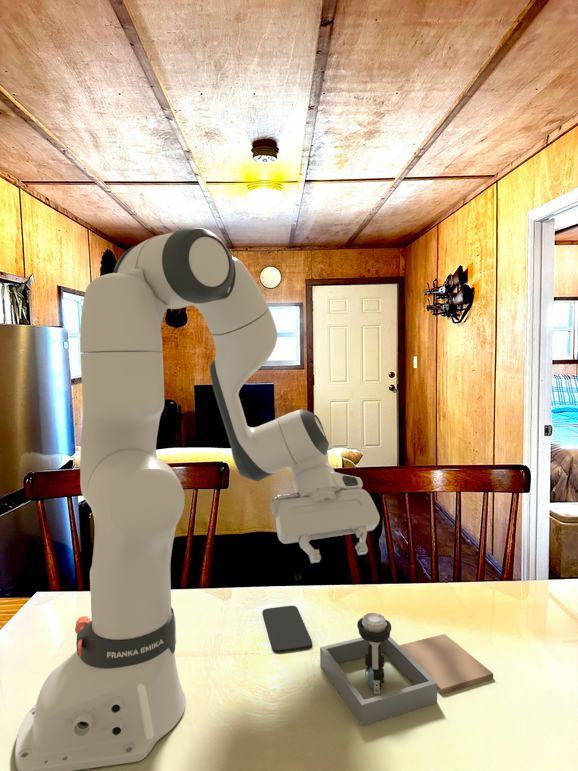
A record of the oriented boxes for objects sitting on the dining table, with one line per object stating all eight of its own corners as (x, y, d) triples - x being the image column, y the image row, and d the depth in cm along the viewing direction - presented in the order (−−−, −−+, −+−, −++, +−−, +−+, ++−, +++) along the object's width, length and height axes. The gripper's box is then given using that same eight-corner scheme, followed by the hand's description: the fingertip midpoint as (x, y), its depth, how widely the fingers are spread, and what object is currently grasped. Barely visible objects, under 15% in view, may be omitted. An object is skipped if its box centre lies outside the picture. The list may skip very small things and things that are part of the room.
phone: (296, 604, 100) (314, 645, 85) (296, 608, 100) (314, 649, 85) (261, 609, 98) (273, 650, 83) (261, 613, 98) (273, 655, 83)
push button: (394, 698, 72) (393, 633, 71) (358, 696, 72) (358, 632, 72) (390, 670, 78) (389, 610, 78) (357, 668, 79) (356, 609, 79)
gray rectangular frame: (362, 725, 66) (361, 705, 66) (320, 664, 80) (320, 647, 80) (437, 702, 71) (437, 683, 70) (385, 648, 84) (385, 631, 84)
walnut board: (441, 694, 72) (441, 689, 72) (397, 650, 84) (397, 645, 84) (493, 678, 76) (493, 673, 76) (444, 638, 87) (444, 633, 87)
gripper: (271, 487, 89) (290, 558, 80) (367, 477, 96) (394, 541, 87) (265, 504, 93) (282, 573, 85) (357, 493, 100) (382, 556, 92)
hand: (340, 557), depth 86 cm, fingers open, 8 cm apart
